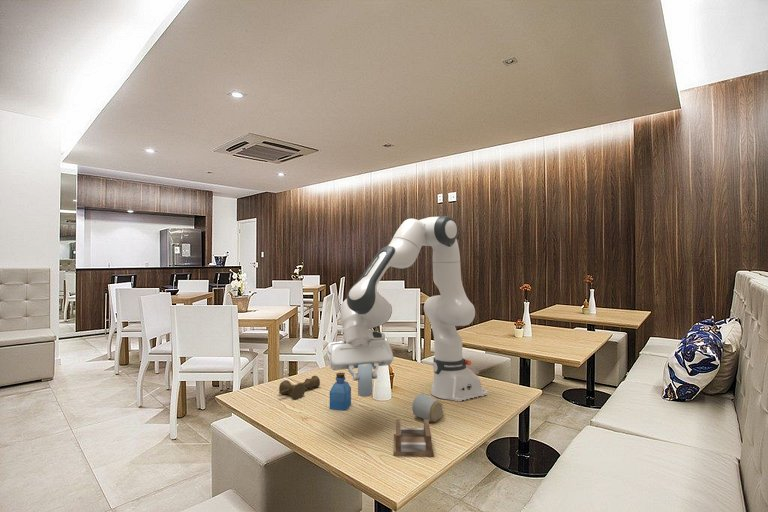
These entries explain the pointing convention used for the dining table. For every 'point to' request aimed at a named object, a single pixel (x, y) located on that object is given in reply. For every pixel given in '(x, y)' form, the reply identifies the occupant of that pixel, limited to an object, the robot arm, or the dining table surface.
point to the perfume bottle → (340, 393)
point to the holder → (412, 440)
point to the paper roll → (365, 379)
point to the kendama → (298, 387)
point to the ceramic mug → (427, 407)
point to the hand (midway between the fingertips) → (365, 378)
